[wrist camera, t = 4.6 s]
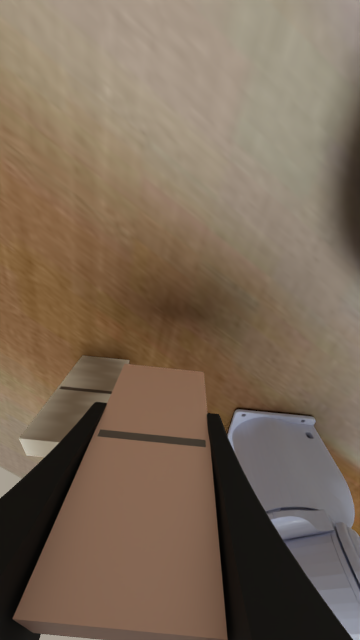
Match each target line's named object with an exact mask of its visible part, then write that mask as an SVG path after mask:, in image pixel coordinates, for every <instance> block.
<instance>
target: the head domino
mask: <svg viewBox="0 0 360 640" xmlns="http://www.w3.org/2000/svg"><path fill="white" fill-rule="evenodd" d="M207 414H208V413H207V402H206V391H205V380H204V372H199V371H189V370H180V369H170V368H160V367H150V366H141V365H131V364H124V366H123V368H122V371H121V373H120V375H119V377H118V380H117V382H116V384H115V386H114V389H113V391H112V393H111V396H110V398H109V400H108V402H107V405H106V407H105V410H104V412H103V414H102V417H101V419H100V421H99V423H98V425H97V427H96V430H95V432H94V434H93V437H92V439H91V441H90V443H89V446H88V448H87V450H86V452H85V455H84V457H83V459H82V462H81V464H80V466H79V468H78V471H77V473H76V475H75V478H74V480H73V482H72V484H71V487H70V489H69V491H68V493H67V496H66V498H65V500H64V503H63V505H62V507H61V509H60V512H59V514H58V516H57V518H56V521H55V523H54V525H53V528H52V530H51V532H50V534H49V537H48V539H47V541H46V543H45V546H44V548H43V550H42V553H41V555H40V557H39V559H38V562H37V564H36V566H35V569H34V571H33V573H32V575H31V578H30V580H29V582H28V584H27V587H26V589H25V591H24V594H23V596H22V598H21V600H20V603H19V605H18V607H17V609H16V612H15V614H14V616H13V620H15V621H16V622H18V623H19V624H21V625H22V626H24V627H25V628H27V629H28V630H30V631H31V632H33V633H39V634H50V635H60V636H70V637H81V638H91V639H103V640H228V638H227V627H226V616H225V604H224V593H223V582H222V571H221V559H220V548H219V537H218V526H217V514H216V503H215V492H214V481H213V470H212V458H211V447H210V440H209V434H208V425H207Z"/></svg>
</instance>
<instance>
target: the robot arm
mask: <svg viewBox="0 0 360 640" xmlns="http://www.w3.org/2000/svg"><path fill="white" fill-rule="evenodd" d="M106 405H107V403H103V402H95V403H94V404H93V405H92V406H91V407H90V408H89V410H88V411H87V412H86V413H85V414H84V416H83V417H82V418H81V419H80V420H79V421H78V422H77V424H76V425H75V426H74V427H73V428H72V429H71V430H70V431H69V432H68V434H67V435H66V436H65V437H64V438H63V439H62V440H61V441H60V442H59V443H58V444H57V445H56V446H55V447H54V448H53V449H52V450H51V451H50V452H49V453H48V454H47V455H46V456H45V457H44V458H43V459H42V461H41V462H40V463H39V464H37V465H36V466H35V467H34V468H33V469H32V470H31V471H30V472H29V473H28V474H27V475H26V476H25V477H24V478H23V479H22V480H21V481H19V482H18V483H17V484H16V485H15V486H14V487H13V488H12V489H11V490H9V491H8V492H7V493H6V494H5V495H4V496H3V497H1V498H0V640H39V638H40V635H41V634H39V633H33V632H31V631H30V630H28V629H27V628H25V627H24V626H22V625H21V624H19V623H18V622H16V621H15V620H13V616H14V614H15V612H16V609H17V607H18V605H19V603H20V600H21V598H22V596H23V594H24V591H25V589H26V587H27V584H28V582H29V580H30V578H31V575H32V573H33V571H34V569H35V566H36V564H37V562H38V559H39V557H40V555H41V553H42V550H43V548H44V546H45V543H46V541H47V539H48V537H49V534H50V532H51V530H52V528H53V525H54V523H55V521H56V518H57V516H58V514H59V512H60V509H61V507H62V505H63V503H64V500H65V498H66V496H67V493H68V491H69V489H70V487H71V484H72V482H73V480H74V478H75V475H76V473H77V471H78V468H79V466H80V464H81V462H82V459H83V457H84V455H85V452H86V450H87V448H88V446H89V443H90V441H91V439H92V437H93V434H94V432H95V430H96V427H97V425H98V423H99V421H100V419H101V417H102V414H103V412H104V410H105V407H106ZM315 421H316V420H315V419H314V417H311V416H302V415H292V414H282V413H271V412H261V411H251V410H241V409H238V410H236V411H235V412H234V415H233V418H232V422H231V425H230V428H229V431H228V434H226V431H225V429H224V426H223V423H222V421H221V418H220V416H219V414H211V413H208V414H207V425H208V434H209V440H210V447H211V458H212V470H213V481H214V492H215V503H216V514H217V526H218V537H219V548H220V559H221V571H222V582H223V593H224V604H225V616H226V627H227V638H228V640H360V537H359V535H358V534H357V533H356V532H355V531H354V530H353V529H351V527H352V525H353V522H354V516H355V511H354V504H353V500H352V496H351V493H350V490H349V488H348V485H347V483H346V481H345V479H344V477H343V475H342V474H341V472H340V470H339V468H338V467H337V465H336V463H335V462H334V460H333V458H332V456H331V455H330V453H329V451H328V450H327V448H326V446H325V445H324V443H323V441H322V439H321V438H320V436H319V434H318V433H317V431H316V429H315V427H314V426H313V425H314V423H315Z"/></svg>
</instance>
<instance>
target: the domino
mask: <svg viewBox="0 0 360 640" xmlns="http://www.w3.org/2000/svg"><path fill="white" fill-rule="evenodd" d="M124 364H129V360H123V359H113V358H103V357H93V356H82V357H81V358H80V359H79V361H78V362H77V363H76V365H75V366H74V367H73V369H72V370H71V371H70V372H69V374H68V375H67V376H66V378H65V379H64V380H63V382H62V383H61V384H60V385H59V387H58V388H57V389H56V391H55V392H54V393H53V395H52V396H51V397H50V398H49V400H48V401H47V402H46V404H45V405H44V406H43V408H42V409H41V410H40V412H39V413H38V414H37V415H36V417H35V418H34V419H33V421H32V422H31V423H30V425H29V426H28V427H27V428H26V430H25V431H24V432H23V434H22V435H21V436H20V438H19V440H20V442H21V444H22V446H23V448H24V451H25V453H26V455H27V456H37V457H45V456H46V455H47V454H48V453H49V452H50V451H51V450H52V449H53V448H54V447H55V446H56V445H57V444H58V443H59V442H60V441H61V440H62V439H63V438H64V437H65V436H66V435H67V434H68V432H69V431H70V430H71V429H72V428H73V427H74V426H75V425H76V424H77V422H78V421H79V420H80V419H81V418H82V417H83V416H84V414H85V413H86V412H87V411H88V410H89V408H90V407H91V406H92V405H93V404H94V403H95V402H103V403H107V402H108V400H109V398H110V396H111V393H112V391H113V389H114V386H115V384H116V382H117V380H118V377H119V375H120V373H121V371H122V368H123V366H124Z"/></svg>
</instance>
